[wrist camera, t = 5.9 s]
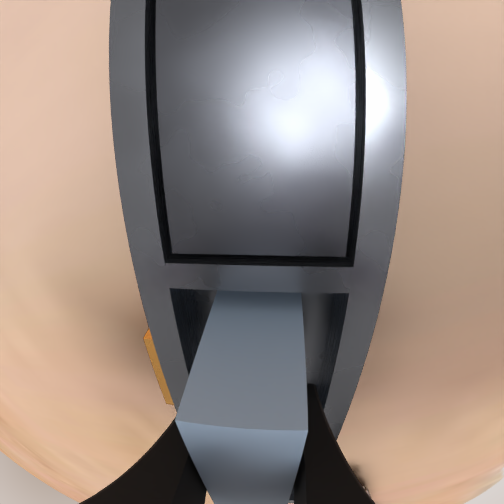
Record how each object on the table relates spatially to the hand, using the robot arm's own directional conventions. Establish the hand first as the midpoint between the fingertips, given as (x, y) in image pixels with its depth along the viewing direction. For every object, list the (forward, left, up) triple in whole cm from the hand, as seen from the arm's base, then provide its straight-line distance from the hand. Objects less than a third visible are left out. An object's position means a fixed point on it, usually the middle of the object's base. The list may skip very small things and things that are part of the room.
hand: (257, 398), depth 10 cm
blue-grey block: (0, 0, -2) cm, 2 cm away
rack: (0, 0, -3) cm, 3 cm away
